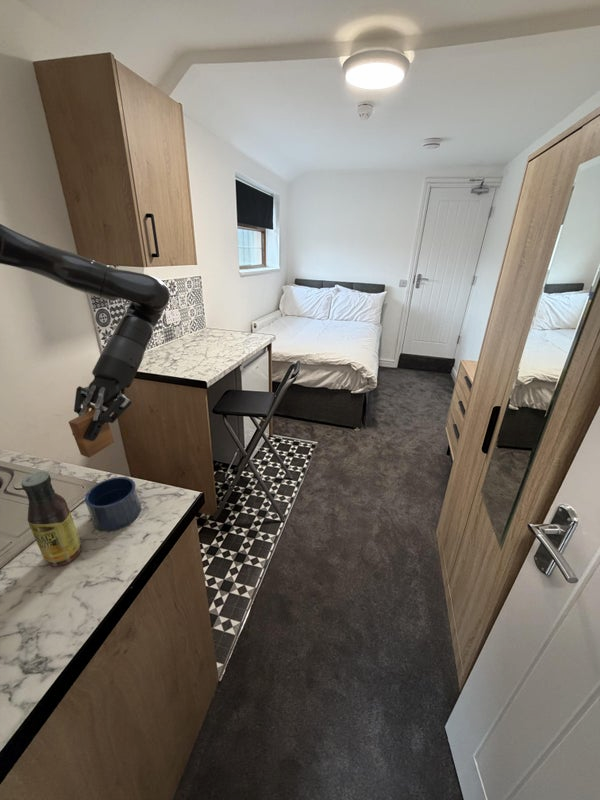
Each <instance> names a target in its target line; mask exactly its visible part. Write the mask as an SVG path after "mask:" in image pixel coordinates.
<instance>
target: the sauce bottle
mask: <svg viewBox="0 0 600 800" xmlns="http://www.w3.org/2000/svg"><path fill="white" fill-rule="evenodd" d="M20 485H21V488H22V490H23V491H24V492H25V494H26V496H27V499H28V507H27V509H28V510H27V523H28V525H29V528H30V530H31V532H32V535H33V537H34V539H35V541H36V544H37V546H38V548H39V551H40V553H41V556H42V558H43V559H44V561H45V562H46V563H47V565H49V566H51V567H60V566H65V565H67V564H69V563H70V562H72V561H73V560H74V559H76V557H78V555H79V554H80V552H81V550H82V544H81V539H80V536H79V533H78V530H77V528H76V525H75V521H74V518H73V516H72V514H71V510H70V509H69V507H68V503H67V501H66V499H65V498H64V497H63V496H62V495H60V494H58V493H57V492H55V489H54V487H53V485H52V478H51V476H50V474H49V472H46V471H37V472H33V473H30V474H29V475H26V476H25V477H24V478H23V479H22V480H21V484H20Z"/></svg>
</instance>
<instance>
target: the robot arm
mask: <svg viewBox="0 0 600 800" xmlns="http://www.w3.org/2000/svg"><path fill="white" fill-rule="evenodd" d="M0 265H5V266H9V267H14V268H18V269H22V270H25V271H28V272H31V273H34V274H37V275H40V276H42V277H44V278H47V279H49V280H51V281H54V282H56V283H58V284H60V285H62V286H66V287H68V288H70V289H73V290H75V291H78V292H82V293H84V294H87V295H90V296H94V297H97V298H100V299H103V300H107V301H111V302H113V301H115V302H116V301H117V300H124V301H129V302H130V303H129V305H128V308H127V309H126V312H125V314H124V315H123V316H122V317H121V318H120V320H119V322H118V323H117V325H116V327H115V329H114V331H113V333H112V335H111V336H110V339H108V341H107V342H106V344H105V346H104V347H103V350H102V352H101V354H100V355H99V358H98V360H97V361H96V363H95V365H94V367H93V369H92V372H91V374H92V376H93V379H92V381H91V382H90V383H89V384H88V386H85V387H83V386H80V385H79V386H77V387H76V391H75V399H74V407H73V412H74V413H76V414H77V415H78V417H79V416H81V415H83V414H85V413H87V412H89V411H91V410H93V409H96V411H95V413H94V416H93V421H91V422H90V424H89V426H88V428H87V430H86V432H85V434H84V436H83V438H84V439H87V440H90V441H94V440H95V439H96V438H97V437H98V434H99V432H100V430H101V428H102V426H103V424H106V423H110V424H114V423H115V422H116V421H117V419H118V418H119V417H120V416H121V415H122V414H123V413H125V411H126V410H127V409H128V408H129V407H130V406H131V404H132V400H131V399H129V398H127V397H126V395H125V394H126V389H128V388H130V387H131V385H132V383H133V381H134V379H135V377H136V375H137V373H138V372H139V371H138V370H139V369H140V367H141V364H142V362H143V359H144V356H145V353H146V350H147V348H148V346H149V344H150V342H151V339H152V337H153V334H154V329H155V328H156V326H157V325H158V323H159V320H160V318H161V317H162V314H163V313H164V311H165V309H166V307H167V306H168V304H169V301H170V300H171V299H170V298H171V294H170V289H169V288H168V286H167V285H166V283H164V282H163V281H161V280H160V279H159V278H157V277H154V276H153V275H149V274H146V273H141V272H136V271H130V270H125V269H118V268H115V267H113V266H110V265H107V264H105V263H103V262H99V261H97V260H94V259H92V258H89V257H86V256H83V255H80V254H78V253H74V252H71V251H67V250H65V249H62V248H58V247H55V246H52V245H50V244H46V243H43V242H40V241H38V240H35V239H33V238H30V237H29V236H26V235H24V234H21V233H19V232H17V231H15V230H13V229H11V228H9V227H7V226H6V225H4V224H1V223H0ZM102 412H103V414H102V415H101V413H102ZM71 434H72V435H73V433H71Z"/></svg>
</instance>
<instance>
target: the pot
mask: <svg viewBox="0 0 600 800" xmlns="http://www.w3.org/2000/svg"><path fill="white" fill-rule="evenodd" d="M137 490H138V489H137V487H136V483H135V481H134V480H133V479H131V478H130V477H127V476H120V477H119V476H117V477H111V478H107V479H105V480H103V481H100V482H98V483H96V484H95V485H94V486H93V487H91V488H90V489H89V490H88V491H87V492H86V494H85V497H84V502H85V505H86V508H87V511H88V513H89V515H90V519H91V521H92V524H93V527H94V528H95V529H97V530H98V531H100V532H115V531H117V530H121V529H123V528H126V527H127V526H129V525H131V524H132V523H133V522H134V521H136V519H138V517H139V516H140V514H141V511H142V505H141V501H140V497H139V494H138V491H137Z"/></svg>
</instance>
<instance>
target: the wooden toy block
mask: <svg viewBox="0 0 600 800" xmlns="http://www.w3.org/2000/svg"><path fill="white" fill-rule="evenodd" d="M95 411H96V409H93V410H91V409H90V410H89V412H87V413H85V414H83V415H81V416H79V415H78V416H77V417H75V418H72V419H71V420H68V424H69V427H70V429H71V432H72V433H73V434H72V433H71V434H72V436H73V437H74V440H75V443H76V446H77V448H78V451H79V453H80V455H81V456H83V457H86V458H91V457H93V456H94V455H96V454H98V453H99V452H101V451H103V450H104V449H106V448H108V447H110V445H112V444H114V443H115V439H114V436H113V433H112V430H111V427H110V424H109V423H110V422H108V423H106V424H103V426H102V428H101V430H100V432H99V434H98V437H97V438H96V439H95V440H94V441H90V440H87V439H84V438H83V436H84V434H85V432H86V430H87V428H88V426H89V424H90V422H91V421H93V416H94V413H95ZM102 414H103V412H102V413H101V415H102Z"/></svg>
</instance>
